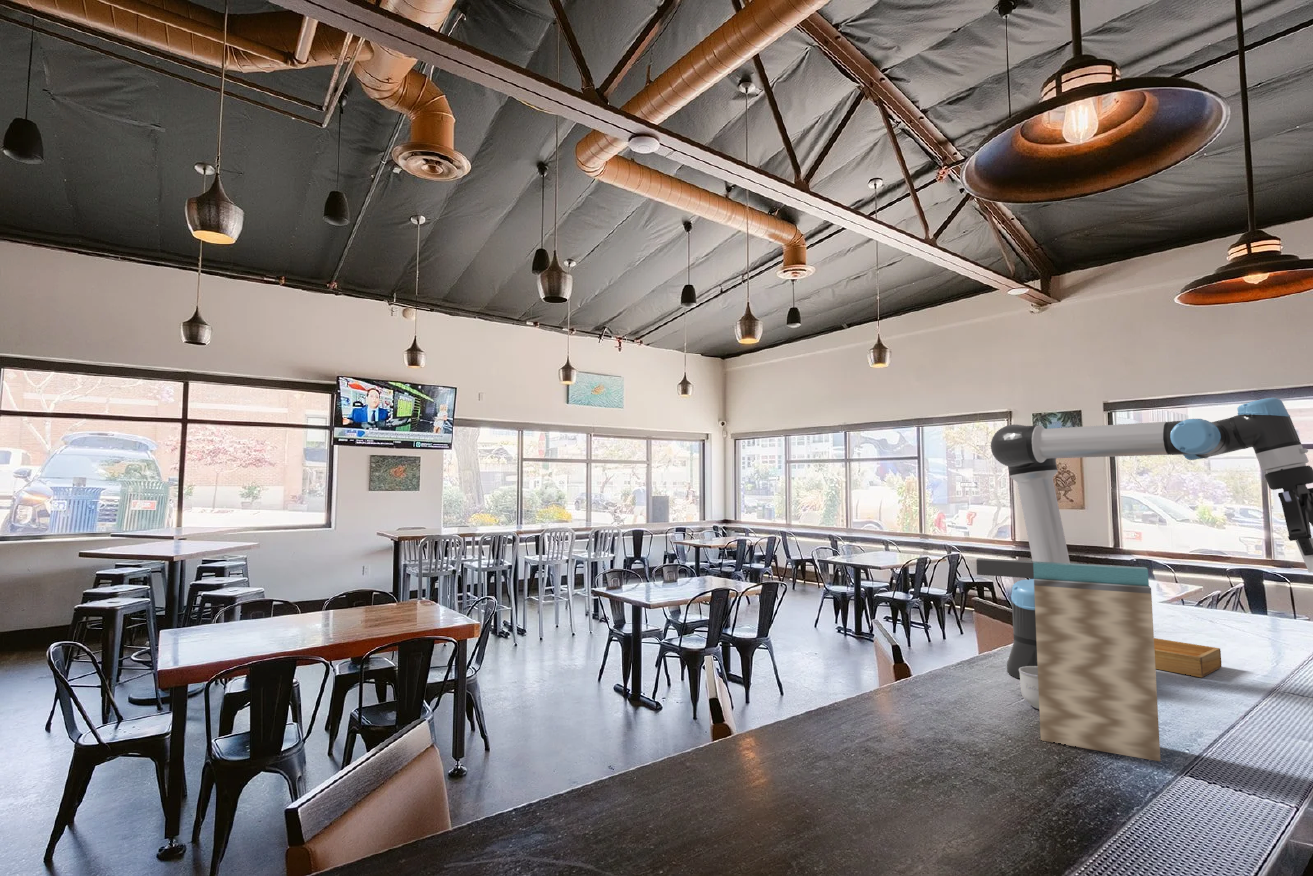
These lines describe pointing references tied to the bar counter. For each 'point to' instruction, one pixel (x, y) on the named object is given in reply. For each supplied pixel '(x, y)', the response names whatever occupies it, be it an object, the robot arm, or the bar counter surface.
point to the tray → (1186, 658)
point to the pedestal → (1097, 666)
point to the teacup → (1030, 685)
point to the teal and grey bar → (1064, 571)
